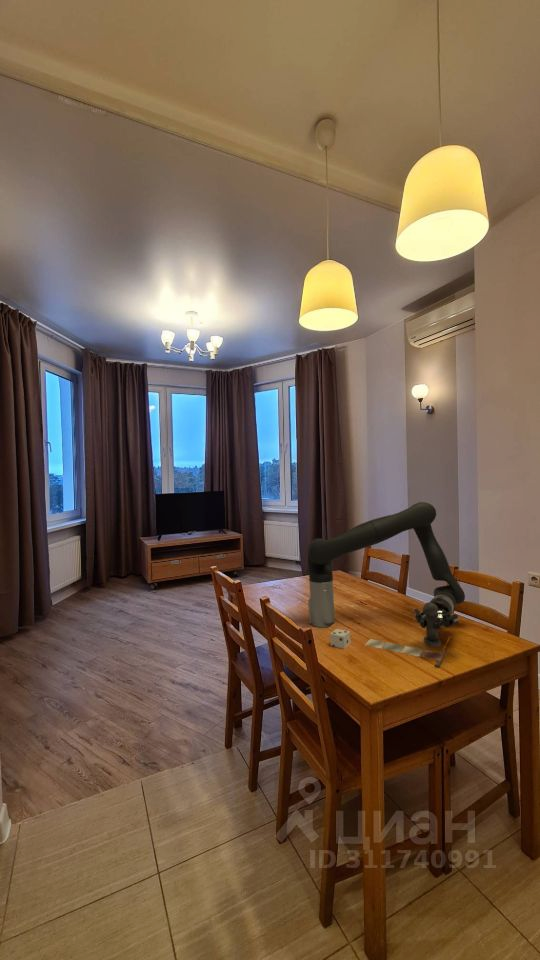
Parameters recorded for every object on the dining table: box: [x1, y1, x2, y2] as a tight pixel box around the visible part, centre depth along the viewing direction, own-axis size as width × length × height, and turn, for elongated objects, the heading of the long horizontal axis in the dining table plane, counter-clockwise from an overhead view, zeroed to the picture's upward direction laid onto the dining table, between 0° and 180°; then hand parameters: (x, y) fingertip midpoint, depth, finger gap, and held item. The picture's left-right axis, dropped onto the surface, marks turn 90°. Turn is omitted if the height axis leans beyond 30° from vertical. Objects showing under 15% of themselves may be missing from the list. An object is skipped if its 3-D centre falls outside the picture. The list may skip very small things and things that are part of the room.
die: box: [329, 628, 351, 650], centre depth 131 cm, size 5×5×5 cm
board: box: [364, 638, 447, 669], centre depth 125 cm, size 24×11×1 cm, turn 56°
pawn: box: [422, 601, 442, 647], centre depth 120 cm, size 5×5×13 cm
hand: (429, 625), depth 118 cm, fingers closed on pawn, 3 cm apart
